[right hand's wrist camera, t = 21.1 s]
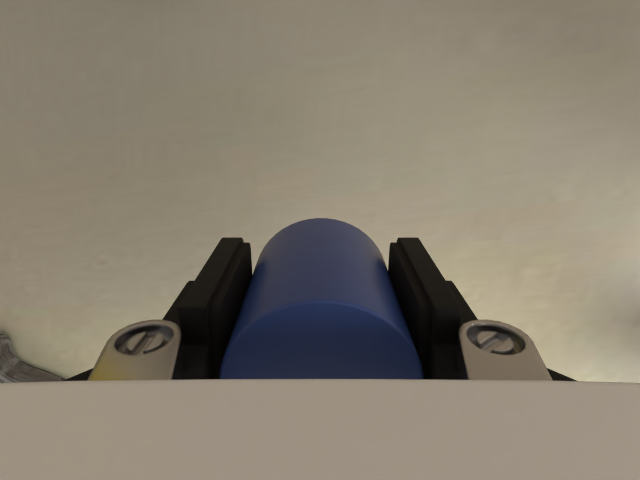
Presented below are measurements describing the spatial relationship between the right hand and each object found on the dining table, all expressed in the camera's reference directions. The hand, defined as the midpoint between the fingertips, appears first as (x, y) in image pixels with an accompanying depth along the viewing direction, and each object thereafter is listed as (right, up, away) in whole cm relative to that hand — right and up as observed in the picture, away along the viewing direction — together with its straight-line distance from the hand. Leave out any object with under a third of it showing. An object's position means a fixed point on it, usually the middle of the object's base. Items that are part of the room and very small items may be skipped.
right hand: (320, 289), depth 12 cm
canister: (0, 0, 0) cm, 0 cm away
